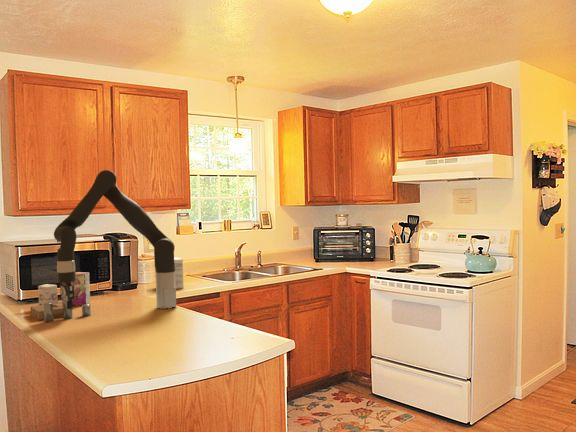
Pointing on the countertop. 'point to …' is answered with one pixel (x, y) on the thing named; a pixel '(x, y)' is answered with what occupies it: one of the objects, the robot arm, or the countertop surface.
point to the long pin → (66, 311)
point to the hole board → (39, 311)
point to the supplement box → (178, 272)
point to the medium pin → (48, 312)
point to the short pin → (86, 310)
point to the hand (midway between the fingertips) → (67, 307)
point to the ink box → (47, 294)
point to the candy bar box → (81, 288)
